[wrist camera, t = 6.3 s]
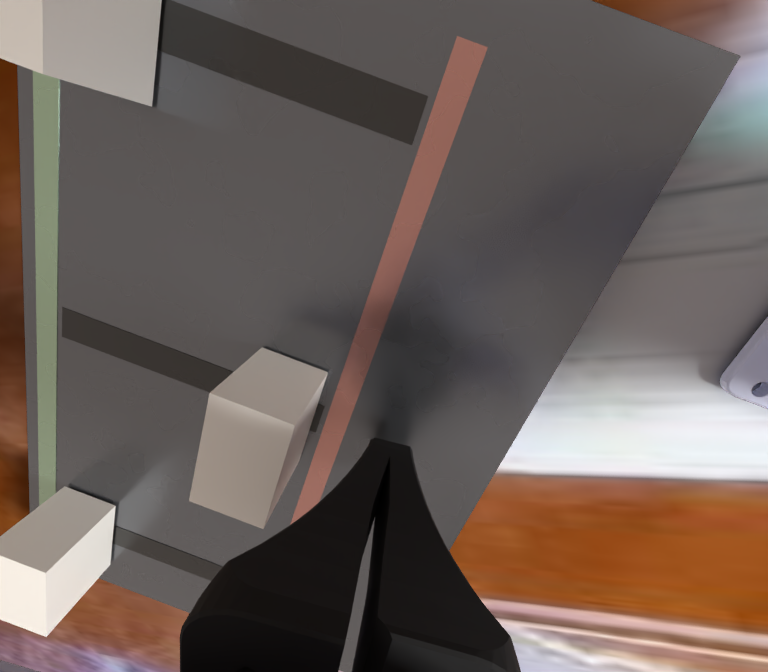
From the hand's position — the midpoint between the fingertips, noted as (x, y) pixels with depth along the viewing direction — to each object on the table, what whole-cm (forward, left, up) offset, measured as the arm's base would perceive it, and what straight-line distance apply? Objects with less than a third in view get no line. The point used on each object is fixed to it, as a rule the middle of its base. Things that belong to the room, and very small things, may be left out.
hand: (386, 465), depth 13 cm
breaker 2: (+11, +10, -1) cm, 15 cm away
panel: (+5, 0, -2) cm, 6 cm away
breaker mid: (+4, 0, -1) cm, 4 cm away
